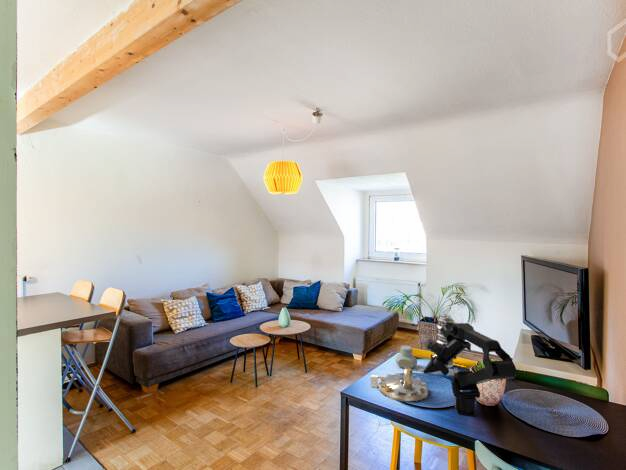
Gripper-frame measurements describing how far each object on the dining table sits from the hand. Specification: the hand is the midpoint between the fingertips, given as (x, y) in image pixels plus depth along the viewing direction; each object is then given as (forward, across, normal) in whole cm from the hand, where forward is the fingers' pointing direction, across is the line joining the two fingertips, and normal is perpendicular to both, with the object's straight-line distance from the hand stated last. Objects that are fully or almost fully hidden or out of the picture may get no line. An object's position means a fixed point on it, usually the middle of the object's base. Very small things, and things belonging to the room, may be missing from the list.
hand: (424, 372), depth 145 cm
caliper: (+2, -26, +13) cm, 30 cm away
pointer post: (+22, -6, -7) cm, 24 cm away
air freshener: (+13, -34, +3) cm, 36 cm away
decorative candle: (-1, -43, +16) cm, 46 cm away
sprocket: (+12, -6, 0) cm, 14 cm away
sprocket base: (+14, -6, +2) cm, 15 cm away
